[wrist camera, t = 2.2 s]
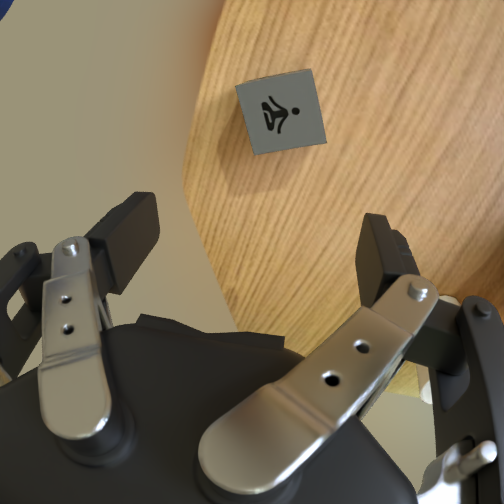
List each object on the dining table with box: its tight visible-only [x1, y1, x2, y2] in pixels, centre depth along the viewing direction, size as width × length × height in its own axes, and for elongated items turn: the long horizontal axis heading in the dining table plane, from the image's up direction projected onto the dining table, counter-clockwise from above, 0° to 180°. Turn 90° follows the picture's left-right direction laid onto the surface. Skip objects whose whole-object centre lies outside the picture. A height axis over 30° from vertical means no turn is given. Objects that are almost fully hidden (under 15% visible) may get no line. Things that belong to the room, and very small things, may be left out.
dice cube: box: [235, 69, 327, 155], centre depth 21 cm, size 5×5×5 cm
